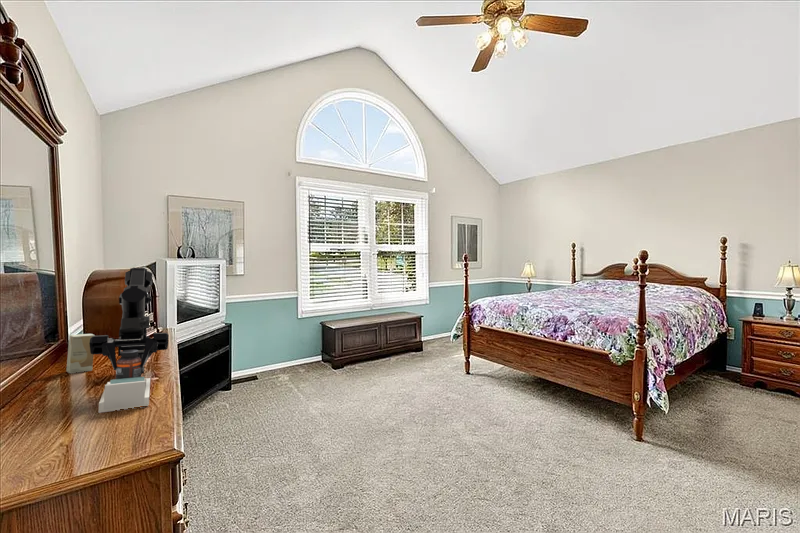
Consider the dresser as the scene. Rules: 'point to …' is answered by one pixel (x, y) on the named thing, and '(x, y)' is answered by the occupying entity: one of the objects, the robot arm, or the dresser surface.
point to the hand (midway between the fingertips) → (128, 368)
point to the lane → (125, 395)
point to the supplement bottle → (128, 365)
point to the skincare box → (79, 353)
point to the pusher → (126, 380)
